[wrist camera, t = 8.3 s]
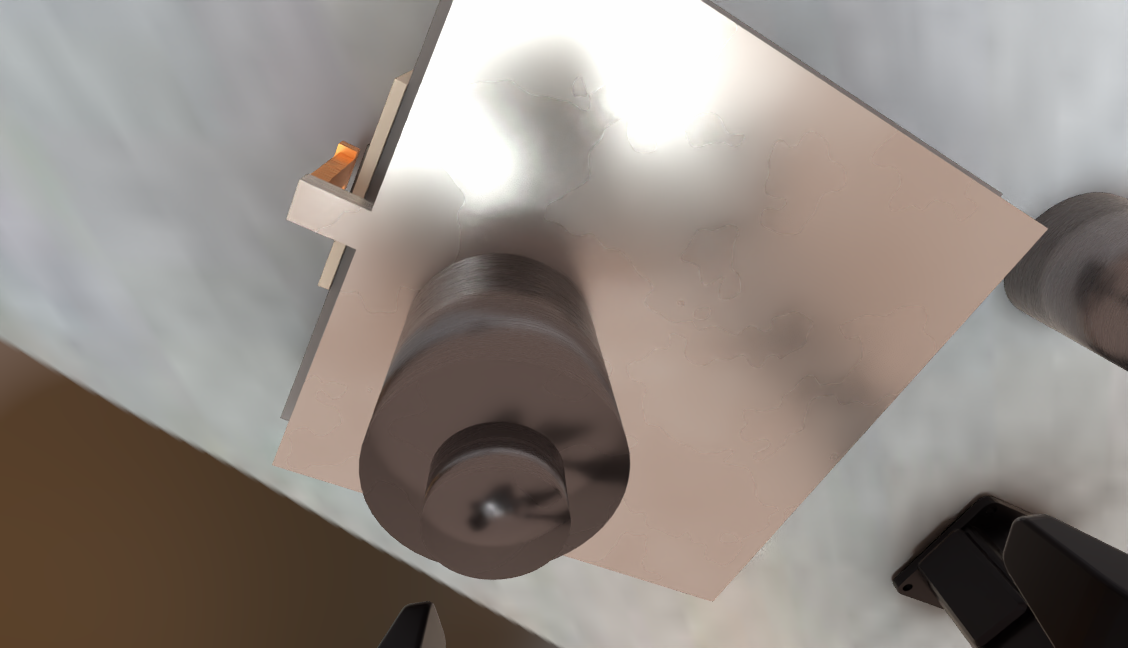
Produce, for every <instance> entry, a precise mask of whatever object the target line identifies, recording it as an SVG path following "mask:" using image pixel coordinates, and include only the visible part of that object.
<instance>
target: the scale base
mask: <svg viewBox="0 0 1128 648" xmlns="http://www.w3.org/2000/svg"><path fill="white" fill-rule="evenodd" d="M453 1H454V0H440V2H439V4H438V7H437V10H436V12H435V15H434V17H433V20H432V23H431V25H430V28H429V31H428V33H427V36H426V38H425V41H424V44H423V46H422V49H421V51H420V54H419V57H418V59H417V62H416V65H415V67H414V70H411V71H409V72H407V73H405V74H403V75H401V76H399V77H397V78H395V79H394V82H393V85H392V87H391V90H390V93H389V95H388V98H387V101H386V103H385V106H384V109H383V112H382V114H381V117H380V120H379V122H378V125H377V128H376V130H375V133H374V136H373V138H372V141H371V144H368V145H367V148H366V151H365V153H364V156H363V159H362V161H361V164H360V167H359V169H358V172H357V175H356V178H355V180H354V183H353V186H352V188H351V191H350V192H351V193H353V194H355V195H357V196H359V197H362V198H364V199H366V200H368V201H370V202H373V203H375V201H376V198H377V195H378V193H379V190H380V188H381V185H382V183H383V180H384V178H385V175H386V172H387V170H388V167H389V165H390V162H391V160H392V157H393V154H394V152H395V149H396V147H397V144H398V142H399V139H400V137H401V134H402V131H403V129H404V126H405V124H406V121H407V119H408V116H409V114H410V111H411V108H412V106H413V103H414V101H415V98H416V96H417V93H418V91H419V88H420V85H421V83H422V80H423V78H424V75H425V73H426V70H427V68H428V65H429V62H430V60H431V57H432V55H433V52H434V50H435V47H436V45H437V42H438V39H439V37H440V34H441V32H442V29H443V27H444V24H445V22H446V19H447V16H448V14H449V11H450V9H451V6H452V4H453ZM701 1H702V2H704V3H705V4H707V5H708V6H710V7H711V8H713V9H715V10H716V11H718V12H719V13H721V14H722V15H724V16H725V17H727V18H728V19H730V20H731V21H733V22H734V23H736V24H737V25H739V26H740V27H742V28H743V29H745V30H747V31H748V32H750V33H751V34H753V35H754V36H756V37H757V38H759V39H760V40H762V41H763V42H765V43H766V44H768V45H769V46H771V47H772V48H774V49H775V50H777V51H778V52H780V53H782V54H783V55H785V56H786V57H788V58H789V59H791V60H792V61H794V62H795V63H797V64H798V65H800V66H801V67H803V68H804V69H806V70H807V71H809V72H810V73H812V74H813V75H815V76H817V77H818V78H820V79H821V80H823V81H824V82H826V83H827V84H829V85H830V86H832V87H833V88H835V89H836V90H838V91H839V92H841V93H842V94H844V95H845V96H847V97H849V98H850V99H852V100H853V101H855V102H856V103H858V104H859V105H861V106H862V107H864V108H865V109H867V110H868V111H870V112H871V113H873V114H874V115H876V116H877V117H879V118H880V119H882V120H884V121H885V122H887V123H888V124H890V125H891V126H893V127H894V128H896V129H897V130H899V131H900V132H902V133H903V134H905V135H906V136H908V137H909V138H911V139H912V140H914V141H916V142H917V143H919V144H920V145H922V146H923V147H925V148H926V149H928V150H929V151H931V152H932V153H934V154H935V155H937V156H938V157H940V158H941V159H943V160H944V161H946V162H947V163H949V164H951V165H952V166H954V167H955V168H957V169H958V170H960V171H961V172H963V173H964V174H966V175H967V176H969V177H970V178H972V179H973V180H975V181H976V182H978V183H979V184H981V185H982V186H984V187H986V188H987V189H989V190H990V191H992V192H993V193H995V194H996V195H998V196H999V197H1001V196H1002V193H1000V192H999V191H997V190H996V189H994V188H993V187H991V186H990V185H988V184H987V183H985V182H984V181H982V180H981V179H979V178H978V177H976V176H975V175H973V174H972V173H970V172H969V171H967V170H966V169H964V168H963V167H961V166H960V165H958V164H957V163H955V162H954V161H952V160H950V159H949V158H947V157H946V156H944V155H943V154H941V153H940V152H938V151H937V150H935V149H934V148H932V147H931V146H929V145H928V144H926V143H925V142H923V141H922V140H920V139H919V138H917V137H916V136H914V135H913V134H911V133H910V132H908V131H907V130H905V129H904V128H902V127H901V126H899V125H897V124H896V123H894V122H893V121H891V120H890V119H888V118H887V117H885V116H884V115H882V114H881V113H879V112H878V111H876V110H875V109H873V108H872V107H870V106H869V105H867V104H866V103H864V102H863V101H861V100H860V99H858V98H857V97H855V96H854V95H852V94H851V93H849V92H848V91H846V90H844V89H843V88H841V87H840V86H838V85H837V84H835V83H834V82H832V81H831V80H829V79H828V78H826V77H825V76H823V75H822V74H820V73H819V72H817V71H816V70H814V69H813V68H811V67H810V66H808V65H807V64H805V63H804V62H802V61H801V60H799V59H798V58H796V57H794V56H793V55H791V54H790V53H788V52H787V51H785V50H784V49H782V48H781V47H779V46H778V45H776V44H775V43H773V42H772V41H770V40H769V39H767V38H766V37H764V36H763V35H761V34H760V33H758V32H757V31H755V30H754V29H752V28H751V27H749V26H748V25H746V24H745V23H743V22H741V21H740V20H738V19H737V18H735V17H734V16H732V15H731V14H729V13H728V12H726V11H725V10H723V9H722V8H720V7H719V6H717V5H716V4H714V3H713V2H711V1H710V0H701ZM355 252H356V249H354V248H352V247H349V246H347V245H345V244H342V243H340V242H338V241H334V243H333V246H332V249H331V251H330V254H329V257H328V259H327V262H326V265H325V267H324V270H323V273H322V275H321V278H320V281H319V284H318V286H320V287H323V288H325V289H328V290H329V292H328V295H327V297H326V300H325V302H324V305H323V308H322V310H321V313H320V316H319V318H318V321H317V323H316V326H315V329H314V331H313V334H312V336H311V339H310V342H309V344H308V347H307V350H306V352H305V355H304V357H303V360H302V363H301V365H300V368H299V370H298V373H297V376H296V378H295V381H294V384H293V386H292V389H291V391H290V394H289V397H288V399H287V402H286V404H285V407H284V410H283V412H282V415H281V418H282V419H285V420H288V421H289V420H290V418H291V415H292V413H293V410H294V408H295V405H296V402H297V400H298V397H299V395H300V392H301V390H302V387H303V385H304V382H305V379H306V377H307V374H308V372H309V369H310V367H311V364H312V362H313V359H314V356H315V354H316V351H317V349H318V346H319V344H320V341H321V339H322V336H323V333H324V331H325V328H326V326H327V323H328V321H329V318H330V316H331V313H332V310H333V308H334V305H335V303H336V300H337V298H338V295H339V293H340V290H341V287H342V285H343V282H344V280H345V277H346V275H347V272H348V270H349V267H350V264H351V262H352V259H353V257H354V254H355ZM329 288H330V289H329Z"/></svg>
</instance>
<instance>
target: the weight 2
mask: <svg viewBox="0 0 1128 648" xmlns="http://www.w3.org/2000/svg"><path fill="white" fill-rule="evenodd" d="M1036 221H1037V222H1039V223H1040V224H1042V225H1043V226H1045V227H1046V228H1048V230H1047V231H1046V232H1045V233H1044V234H1043V235H1042V236H1041V237H1040V238H1039V240H1038V241H1037V242H1036V243H1035V244H1034V245H1033V246H1032V247H1031V248H1030V250H1029V251H1028V252H1027V253H1026V254H1025V255H1024V256H1023V257H1022V258H1021V260H1020V261H1019V262H1018V263H1017V264H1016V265H1015V266H1014V267H1013V268H1012V270H1011V271H1010V272H1009V273H1008V274H1007V275H1006V276H1005V277H1004V288H1005V292H1006V295H1007V297H1008V299H1009V300H1010V302H1011V303H1012V304H1013V305H1014V306H1015V307H1016V308H1018V309H1019V310H1021V311H1022V312H1024V313H1026V314H1028V315H1029V316H1031V317H1033V318H1035V319H1036V320H1038V321H1040V322H1042V323H1043V324H1045V325H1047V326H1049V327H1050V328H1052V329H1054V330H1056V331H1058V332H1059V333H1061V334H1063V335H1065V336H1066V337H1068V338H1070V339H1072V340H1073V341H1075V342H1077V343H1079V344H1080V345H1082V346H1084V347H1086V348H1088V349H1089V350H1091V351H1093V352H1095V353H1096V354H1098V355H1100V356H1102V357H1103V358H1105V359H1107V360H1109V361H1110V362H1112V363H1114V364H1116V365H1118V366H1119V367H1121V368H1123V369H1125V370H1126V371H1128V199H1127V198H1124V197H1120V196H1117V195H1113V194H1109V193H1103V192H1093V193H1086V194H1082V195H1078V196H1074V197H1072V198H1069V199H1067V200H1064V201H1062V202H1060V203H1058V204H1057V205H1055V206H1053V207H1052V208H1050V209H1048V210H1047V211H1046V212H1044V213H1043V214H1042V215H1040V216H1039V217H1038V218H1037V219H1036Z"/></svg>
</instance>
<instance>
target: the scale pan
mask: <svg viewBox="0 0 1128 648" xmlns="http://www.w3.org/2000/svg"><path fill="white" fill-rule="evenodd" d="M359 152H360V149H359V148H357V147H355V146H353V145H351V144H348V143H346V142H344V141H342V142H340V143H339V145H338V147H337V150H336V153H335V156H334V157H333V158H331V159H330V160H329V161H327V162H326V163H325V164H324V165H322V166H321V167H320V168H318V169H317V170H316V171H314V172H313V173H312V174H309V173H308V174H306V175H305V176H304V177H302V178H301V179H300V180H299V182H298V185H297V188H296V191H295V194H294V197H293V201H292V204H291V207H290V210H289V213H288V216H287V219H286V220H288V221H291V222H293V223H295V224H298V225H300V226H302V227H305V228H307V229H309V230H312V231H314V232H316V233H319V234H321V235H323V236H326V237H328V238H331V239H333V240H335V241H338V242H340V243H342V244H345V245H347V246H349V247H352V248H354V249H356V252H355V254H354V257H353V259H352V262H351V264H350V267H349V270H348V272H347V275H346V277H345V280H344V282H343V285H342V287H341V290H340V293H339V295H338V298H337V300H336V303H335V305H334V308H333V310H332V313H331V316H330V318H329V321H328V323H327V326H326V328H325V331H324V333H323V336H322V339H321V341H320V344H319V346H318V349H317V351H316V354H315V356H314V359H313V362H312V364H311V367H310V369H309V372H308V374H307V377H306V379H305V382H304V385H303V387H302V390H301V392H300V395H299V397H298V400H297V402H296V405H295V408H294V410H293V413H292V415H291V418H290V420H289V423H288V425H287V428H286V431H285V433H284V436H283V438H282V441H281V443H280V446H279V448H278V451H277V454H276V456H275V459H274V461H273V464H272V465H274V466H277V467H280V468H284V469H287V470H290V471H293V472H296V473H300V474H303V475H306V476H309V477H313V478H316V479H319V480H322V481H325V482H329V483H332V484H335V485H338V486H342V487H345V488H348V489H351V490H354V491H358V492H361V493H363V492H362V489H361V484H360V478H359V457H360V452H361V447H362V443H363V440H364V438H365V435H366V432H367V429H368V426H369V423H370V420H371V418H372V415H373V412H374V409H375V406H376V403H377V400H378V398H379V395H380V392H381V389H382V386H383V383H384V380H385V378H386V375H387V372H388V369H389V366H390V363H391V360H392V358H393V355H394V352H395V349H396V346H397V343H398V341H399V338H400V335H401V332H402V329H403V326H404V323H405V321H406V318H407V315H408V312H409V310H410V307H411V304H412V303H413V301H414V299H415V297H416V296H417V294H418V293H419V291H420V290H421V289H422V288H423V286H424V285H425V284H426V283H427V282H428V281H429V280H430V279H431V278H432V277H433V276H435V275H436V274H437V273H439V272H440V271H441V270H443V269H445V268H446V267H448V266H450V265H452V264H454V263H456V262H458V261H461V260H464V259H466V258H470V257H474V256H478V255H485V254H513V255H520V256H524V257H528V258H531V259H534V260H537V261H539V262H542V263H544V264H546V265H548V266H550V267H551V268H553V269H555V270H556V271H558V272H559V273H560V274H562V275H563V276H564V277H566V278H567V279H568V280H569V281H570V282H571V283H572V284H573V285H574V286H575V288H576V289H577V290H578V291H579V293H580V294H581V296H582V297H583V299H584V301H585V302H586V304H587V307H588V309H589V312H590V314H591V317H592V321H593V324H594V328H595V331H596V335H597V338H598V342H599V345H600V349H601V352H602V356H603V359H604V362H605V366H606V369H607V373H608V376H609V380H610V383H611V387H612V390H613V394H614V397H615V400H616V404H617V407H618V411H619V414H620V418H621V421H622V425H623V428H624V432H625V435H626V438H627V443H628V447H629V452H630V473H629V480H628V484H627V487H626V491H625V494H624V496H623V498H622V500H621V503H620V505H619V506H618V508H617V509H616V511H615V513H614V514H613V516H612V517H611V518H610V519H609V521H608V522H607V523H606V524H605V525H604V527H603V528H601V529H600V530H599V531H598V532H597V533H596V534H595V535H594V536H593V537H592V538H590V539H589V540H588V541H586V542H585V543H583V544H582V545H581V546H579V547H577V548H576V549H574V550H572V551H570V552H569V553H567V554H564V556H567V557H571V558H574V559H577V560H580V561H583V562H587V563H590V564H593V565H596V566H600V567H603V568H606V569H609V570H612V571H616V572H619V573H622V574H625V575H629V576H632V577H635V578H638V579H641V580H645V581H648V582H651V583H654V584H658V585H661V586H664V587H667V588H670V589H674V590H677V591H680V592H683V593H687V594H690V595H693V596H696V597H699V598H703V599H706V600H709V601H712V602H713V601H714V600H715V598H716V597H717V596H718V595H719V594H720V593H721V592H722V591H723V590H724V588H725V587H726V586H727V585H728V584H729V583H730V582H731V581H732V580H733V578H734V577H735V576H736V575H737V574H738V573H739V572H740V571H741V570H742V568H743V567H744V566H745V565H746V564H747V563H748V562H749V561H750V560H751V558H752V557H753V556H754V555H755V554H756V553H757V552H758V551H759V550H760V548H761V547H762V546H763V545H764V544H765V543H766V542H767V541H768V540H769V538H770V537H771V536H772V535H773V534H774V533H775V532H776V531H777V530H778V528H779V527H780V526H781V525H782V524H783V523H784V522H785V521H786V520H787V518H788V517H789V516H790V515H791V514H792V513H793V512H794V511H795V510H796V508H797V507H798V506H799V505H800V504H801V503H802V502H803V501H804V500H805V498H806V497H807V496H808V495H809V494H810V493H811V492H812V491H813V490H814V488H815V487H816V486H817V485H818V484H819V483H820V482H821V481H822V480H823V478H824V477H825V476H826V475H827V474H828V473H829V472H830V471H831V470H832V468H833V467H834V466H835V465H836V464H837V463H838V462H839V461H840V460H841V458H842V457H843V456H844V455H845V454H846V453H847V452H848V451H849V450H850V448H851V447H852V446H853V445H854V444H855V443H856V442H857V441H858V440H859V438H860V437H861V436H862V435H863V434H864V433H865V432H866V431H867V430H868V428H869V427H870V426H871V425H872V424H873V423H874V422H875V421H876V420H877V418H878V417H879V416H880V415H881V414H882V413H883V412H884V411H885V410H886V408H887V407H888V406H889V405H890V404H891V403H892V402H893V401H894V400H895V398H896V397H897V396H898V395H899V394H900V393H901V392H902V391H903V390H904V388H905V387H906V386H907V385H908V384H909V383H910V382H911V381H912V380H913V378H914V377H915V376H916V375H917V374H918V373H919V372H920V371H921V370H922V368H923V367H924V366H925V365H926V364H927V363H928V362H929V361H930V360H931V358H932V357H933V356H934V355H935V354H936V353H937V352H938V351H939V350H940V348H941V347H942V346H943V345H944V344H945V343H946V342H947V341H948V340H949V338H950V337H951V336H952V335H953V334H954V333H955V332H956V331H957V330H958V328H959V327H960V326H961V325H962V324H963V323H964V322H965V321H966V320H967V318H968V317H969V316H970V315H971V314H972V313H973V312H974V311H975V310H976V308H977V307H978V306H979V305H980V304H981V303H982V302H983V301H984V300H985V298H986V297H987V296H988V295H989V294H990V293H991V292H992V291H993V290H994V288H995V287H996V286H997V285H998V284H999V283H1000V282H1001V281H1002V280H1003V278H1004V277H1005V276H1006V275H1007V274H1008V273H1009V272H1010V271H1011V270H1012V268H1013V267H1014V266H1015V265H1016V264H1017V263H1018V262H1019V261H1020V260H1021V258H1022V257H1023V256H1024V255H1025V254H1026V253H1027V252H1028V251H1029V250H1030V248H1031V247H1032V246H1033V245H1034V244H1035V243H1036V242H1037V241H1038V240H1039V238H1040V237H1041V236H1042V235H1043V234H1044V233H1045V232H1046V231H1047V230H1048V228H1046V227H1045V226H1043V225H1042V224H1040V223H1039V222H1037V221H1036V220H1034V219H1033V218H1031V217H1030V216H1028V215H1027V214H1025V213H1024V212H1022V211H1021V210H1019V209H1018V208H1016V207H1014V206H1013V205H1011V204H1010V203H1008V202H1007V201H1005V200H1004V199H1002V198H1001V197H999V196H998V195H996V194H995V193H993V192H992V191H990V190H989V189H987V188H986V187H984V186H982V185H981V184H979V183H978V182H976V181H975V180H973V179H972V178H970V177H969V176H967V175H966V174H964V173H963V172H961V171H960V170H958V169H957V168H955V167H954V166H952V165H951V164H949V163H947V162H946V161H944V160H943V159H941V158H940V157H938V156H937V155H935V154H934V153H932V152H931V151H929V150H928V149H926V148H925V147H923V146H922V145H920V144H919V143H917V142H916V141H914V140H912V139H911V138H909V137H908V136H906V135H905V134H903V133H902V132H900V131H899V130H897V129H896V128H894V127H893V126H891V125H890V124H888V123H887V122H885V121H884V120H882V119H880V118H879V117H877V116H876V115H874V114H873V113H871V112H870V111H868V110H867V109H865V108H864V107H862V106H861V105H859V104H858V103H856V102H855V101H853V100H852V99H850V98H849V97H847V96H845V95H844V94H842V93H841V92H839V91H838V90H836V89H835V88H833V87H832V86H830V85H829V84H827V83H826V82H824V81H823V80H821V79H820V78H818V77H817V76H815V75H813V74H812V73H810V72H809V71H807V70H806V69H804V68H803V67H801V66H800V65H798V64H797V63H795V62H794V61H792V60H791V59H789V58H788V57H786V56H785V55H783V54H782V53H780V52H778V51H777V50H775V49H774V48H772V47H771V46H769V45H768V44H766V43H765V42H763V41H762V40H760V39H759V38H757V37H756V36H754V35H753V34H751V33H750V32H748V31H747V30H745V29H743V28H742V27H740V26H739V25H737V24H736V23H734V22H733V21H731V20H730V19H728V18H727V17H725V16H724V15H722V14H721V13H719V12H718V11H716V10H715V9H713V8H711V7H710V6H708V5H707V4H705V3H704V2H702V1H701V0H454V1H453V4H452V6H451V9H450V11H449V14H448V16H447V19H446V22H445V24H444V27H443V29H442V32H441V34H440V37H439V39H438V42H437V45H436V47H435V50H434V52H433V55H432V57H431V60H430V62H429V65H428V68H427V70H426V73H425V75H424V78H423V80H422V83H421V85H420V88H419V91H418V93H417V96H416V98H415V101H414V103H413V106H412V108H411V111H410V114H409V116H408V119H407V121H406V124H405V126H404V129H403V131H402V134H401V137H400V139H399V142H398V144H397V147H396V149H395V152H394V154H393V157H392V160H391V162H390V165H389V167H388V170H387V172H386V175H385V178H384V180H383V183H382V185H381V188H380V190H379V193H378V195H377V198H376V201H375V203H373V202H370V201H368V200H366V199H364V198H362V197H359V196H357V195H355V194H353V193H351V192H348V191H346V190H345V189H346V187H347V185H348V182H349V179H350V176H351V174H352V171H353V168H354V166H355V163H356V160H357V157H358V155H359Z"/></svg>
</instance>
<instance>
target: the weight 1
mask: <svg viewBox="0 0 1128 648" xmlns="http://www.w3.org/2000/svg"><path fill="white" fill-rule="evenodd" d="M629 473H630V452H629V447H628V443H627V438H626V435H625V432H624V428H623V425H622V421H621V418H620V414H619V411H618V407H617V404H616V400H615V397H614V394H613V390H612V387H611V383H610V380H609V376H608V373H607V369H606V366H605V362H604V359H603V356H602V352H601V349H600V345H599V342H598V338H597V335H596V331H595V328H594V324H593V321H592V317H591V314H590V312H589V309H588V307H587V304H586V302H585V301H584V299H583V297H582V296H581V294H580V293H579V291H578V290H577V289H576V288H575V286H574V285H573V284H572V283H571V282H570V281H569V280H568V279H567V278H566V277H564V276H563V275H562V274H560V273H559V272H558V271H556V270H555V269H553V268H551V267H550V266H548V265H546V264H544V263H542V262H539V261H537V260H534V259H531V258H528V257H524V256H520V255H513V254H485V255H478V256H474V257H470V258H466V259H464V260H461V261H458V262H456V263H454V264H452V265H450V266H448V267H446V268H445V269H443V270H441V271H440V272H439V273H437V274H436V275H435V276H433V277H432V278H431V279H430V280H429V281H428V282H427V283H426V284H425V285H424V286H423V288H422V289H421V290H420V291H419V293H418V294H417V296H416V297H415V299H414V301H413V303H412V304H411V307H410V310H409V312H408V315H407V318H406V321H405V323H404V326H403V329H402V332H401V335H400V338H399V341H398V343H397V346H396V349H395V352H394V355H393V358H392V360H391V363H390V366H389V369H388V372H387V375H386V378H385V380H384V383H383V386H382V389H381V392H380V395H379V398H378V400H377V403H376V406H375V409H374V412H373V415H372V418H371V420H370V423H369V426H368V429H367V432H366V435H365V438H364V440H363V443H362V447H361V452H360V457H359V478H360V484H361V489H362V492H363V495H364V498H365V501H366V503H367V505H368V507H369V509H370V510H371V512H372V514H373V515H374V517H375V518H376V519H377V521H378V522H379V523H380V525H381V526H382V527H383V528H384V529H385V530H386V531H387V532H388V533H389V534H390V535H391V536H392V537H393V538H395V539H396V540H397V541H399V542H400V543H401V544H402V545H404V546H406V547H407V548H409V549H410V550H412V551H414V552H415V553H417V554H420V555H422V556H424V557H426V558H428V559H430V560H433V561H436V562H439V563H441V564H442V565H443V566H445V567H447V568H448V569H450V570H452V571H454V572H456V573H459V574H462V575H465V576H468V577H473V578H478V579H490V580H496V579H507V578H513V577H517V576H521V575H524V574H527V573H530V572H532V571H534V570H537V569H538V568H540V567H542V566H544V565H545V564H547V563H548V562H549V561H551V560H553V559H556V558H558V557H560V556H562V555H564V554H567V553H569V552H570V551H572V550H574V549H576V548H577V547H579V546H581V545H582V544H583V543H585V542H586V541H588V540H589V539H590V538H592V537H593V536H594V535H595V534H596V533H597V532H598V531H599V530H600V529H601V528H603V527H604V525H605V524H606V523H607V522H608V521H609V519H610V518H611V517H612V516H613V514H614V513H615V511H616V509H617V508H618V506H619V505H620V503H621V500H622V498H623V496H624V494H625V491H626V487H627V484H628V480H629Z"/></svg>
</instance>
